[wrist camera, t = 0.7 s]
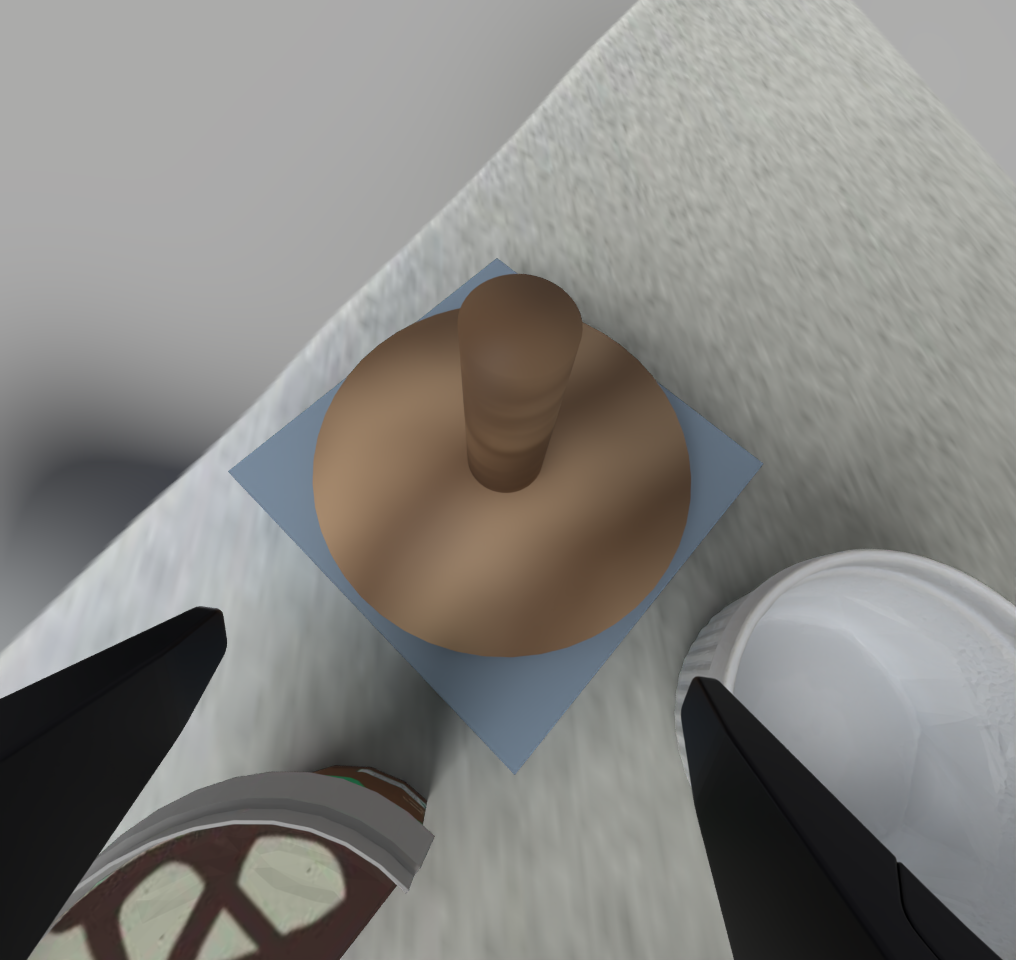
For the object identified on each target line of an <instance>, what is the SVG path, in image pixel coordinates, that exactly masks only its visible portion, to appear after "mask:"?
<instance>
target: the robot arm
mask: <svg viewBox="0 0 1016 960" xmlns="http://www.w3.org/2000/svg"><path fill="white" fill-rule="evenodd" d="M226 648H227V637H226V630H225V623H224V616H223V613H222V611H221V610H219V609H217V608H210V607H203V606H199V607H195V608H193V609H190V610H188V611H186V612H184V613H182V614H180V615H178V616H176V617H173V618H171V619H169V620H167V621H165V622H163V623H161V624H159V625H156V626H154V627H152V628H150V629H148V630H146V631H144V632H142V633H139V634H137V635H135V636H133V637H131V638H129V639H127V640H125V641H122V642H120V643H118V644H116V645H114V646H112V647H110V648H108V649H105V650H103V651H101V652H99V653H97V654H95V655H93V656H91V657H88V658H86V659H84V660H82V661H80V662H78V663H76V664H74V665H71V666H69V667H67V668H65V669H63V670H61V671H59V672H57V673H54V674H52V675H50V676H48V677H46V678H44V679H42V680H40V681H37V682H35V683H33V684H31V685H29V686H27V687H25V688H22V689H20V690H18V691H16V692H14V693H12V694H10V695H8V696H5V697H3V698H1V699H0V960H27V959H28V958H29V956H30V955H31V953H32V952H33V950H34V949H35V947H36V946H37V944H38V943H39V941H40V940H41V939H42V937H43V936H44V934H45V933H46V931H47V930H48V928H49V927H50V925H51V924H52V922H53V921H54V919H55V918H56V916H57V915H58V914H59V912H60V911H61V909H62V908H63V906H64V905H65V903H66V902H67V900H68V899H69V897H70V896H71V894H72V893H73V891H74V890H75V888H76V887H77V886H78V884H79V883H80V881H81V880H82V878H83V877H84V875H85V874H86V872H87V871H88V869H89V868H90V866H91V865H92V863H93V862H94V861H95V859H96V858H97V856H98V855H99V853H100V852H101V850H102V849H103V847H104V846H105V844H106V843H107V841H108V840H109V838H110V837H111V836H112V834H113V833H114V831H115V830H116V828H117V827H118V825H119V824H120V822H121V821H122V819H123V818H124V816H125V815H126V813H127V812H128V811H129V809H130V808H131V806H132V805H133V803H134V802H135V800H136V799H137V797H138V796H139V794H140V793H141V791H142V790H143V788H144V787H145V785H146V784H147V783H148V781H149V780H150V778H151V777H152V775H153V774H154V772H155V771H156V769H157V768H158V766H159V765H160V763H161V762H162V760H163V759H164V758H165V756H166V755H167V753H168V752H169V750H170V749H171V747H172V746H173V744H174V743H175V741H176V740H177V738H178V737H179V735H180V733H181V732H182V730H183V728H184V727H185V725H186V723H187V722H188V720H189V718H190V716H191V714H192V713H193V711H194V709H195V707H196V705H197V704H198V702H199V700H200V698H201V696H202V694H203V693H204V691H205V689H206V687H207V685H208V683H209V682H210V680H211V678H212V676H213V674H214V673H215V671H216V669H217V667H218V665H219V663H220V662H221V660H222V658H223V656H224V654H225V651H226ZM681 723H682V729H683V736H684V742H685V749H686V755H687V762H688V768H689V775H690V782H691V788H692V794H693V800H694V805H695V809H696V814H697V818H698V822H699V826H700V830H701V834H702V837H703V841H704V845H705V849H706V853H707V857H708V861H709V865H710V868H711V872H712V876H713V880H714V884H715V888H716V892H717V896H718V899H719V903H720V907H721V911H722V915H723V919H724V923H725V927H726V930H727V934H728V938H729V942H730V946H731V950H732V954H733V958H734V960H1003V959H1002V958H1001V957H999V956H998V955H997V954H996V953H995V952H994V951H993V950H992V949H991V948H990V947H989V946H988V945H986V944H985V943H984V942H983V941H982V940H981V939H980V938H979V937H978V936H977V935H976V934H975V933H973V932H972V931H971V930H970V929H969V928H968V927H967V926H966V925H965V924H964V923H963V922H962V921H961V920H960V919H959V918H958V917H957V916H956V915H955V914H954V913H953V912H952V911H950V910H949V909H948V908H947V907H946V906H945V905H944V904H943V903H942V902H941V901H940V900H939V899H938V898H937V897H936V896H935V895H934V894H933V893H932V892H931V891H930V890H929V889H928V888H927V887H926V886H925V885H924V884H923V883H922V882H921V881H920V880H919V879H918V878H917V877H916V876H915V875H914V874H913V873H912V872H911V871H910V870H909V869H908V868H907V867H906V866H905V865H904V864H903V863H901V862H897V859H896V857H895V856H894V855H893V854H892V853H891V852H890V851H889V850H888V849H887V848H886V847H885V846H884V845H883V844H882V843H881V842H880V841H879V840H878V839H877V838H876V837H875V836H874V835H873V834H872V833H871V832H870V831H869V830H868V829H867V828H866V827H865V826H864V825H863V824H862V823H861V822H860V821H859V820H858V819H857V818H856V817H855V816H854V815H853V814H852V813H851V812H850V811H849V810H848V809H847V808H846V807H845V806H844V805H843V804H842V803H841V802H840V801H839V800H838V799H837V798H836V797H835V796H834V795H833V794H832V793H831V792H830V791H829V790H828V789H827V788H826V787H825V786H824V785H823V784H822V783H821V782H820V781H819V780H818V779H817V778H816V777H815V776H814V775H813V774H812V773H811V772H810V771H809V770H808V769H807V768H806V767H805V766H804V765H803V764H802V763H801V762H800V761H799V760H798V759H797V758H796V757H795V756H794V755H793V754H792V753H791V752H790V751H789V750H788V749H787V748H786V747H785V746H784V745H783V744H782V743H781V742H780V741H779V740H778V739H777V738H776V737H775V736H774V735H773V734H772V733H771V732H770V731H769V730H768V729H767V728H766V727H765V726H764V725H763V724H762V723H761V722H760V721H759V720H758V719H757V718H756V717H755V716H754V715H753V714H752V713H751V712H750V711H749V710H748V709H747V708H746V707H745V706H744V705H743V704H742V703H741V702H740V701H739V700H738V699H737V698H736V697H735V696H734V695H733V694H732V693H731V692H730V691H729V690H728V689H727V688H726V687H725V686H724V685H723V684H722V683H721V682H720V681H719V680H717V679H715V678H709V677H702V676H695V677H694V678H693V679H692V681H691V683H690V686H689V688H688V691H687V694H686V696H685V699H684V701H683V704H682V707H681Z"/></svg>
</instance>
